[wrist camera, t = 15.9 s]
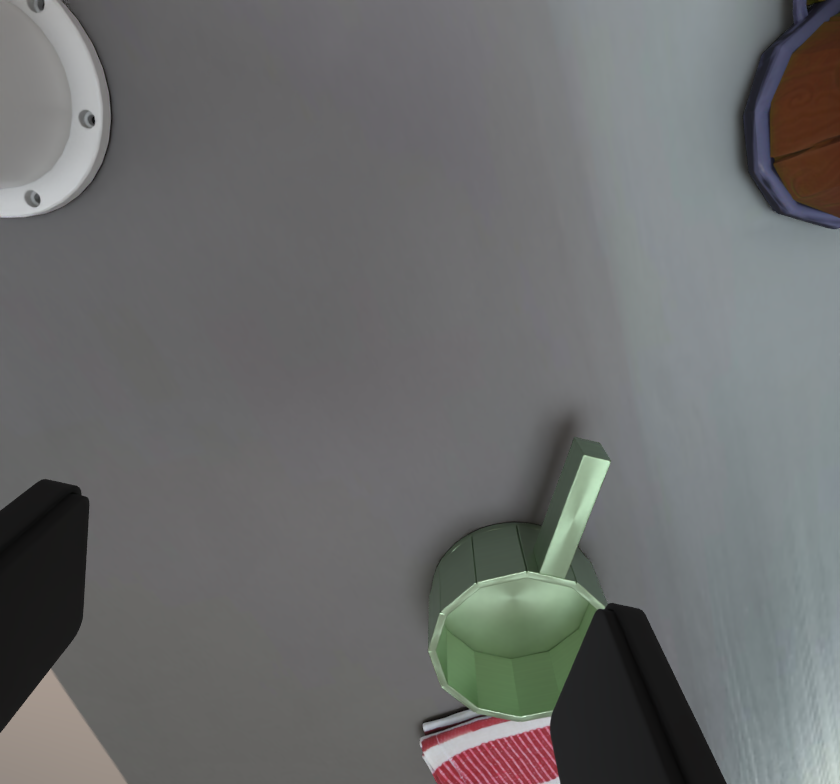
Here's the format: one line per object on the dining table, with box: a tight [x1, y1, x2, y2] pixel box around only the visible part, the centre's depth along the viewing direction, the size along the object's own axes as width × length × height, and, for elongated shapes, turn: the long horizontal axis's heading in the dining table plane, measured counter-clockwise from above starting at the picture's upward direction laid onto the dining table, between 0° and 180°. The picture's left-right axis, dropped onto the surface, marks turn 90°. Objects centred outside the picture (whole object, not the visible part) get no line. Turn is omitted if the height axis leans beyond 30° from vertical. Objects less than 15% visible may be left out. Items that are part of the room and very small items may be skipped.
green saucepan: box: [428, 437, 611, 722], centre depth 38 cm, size 20×12×6 cm, turn 166°
